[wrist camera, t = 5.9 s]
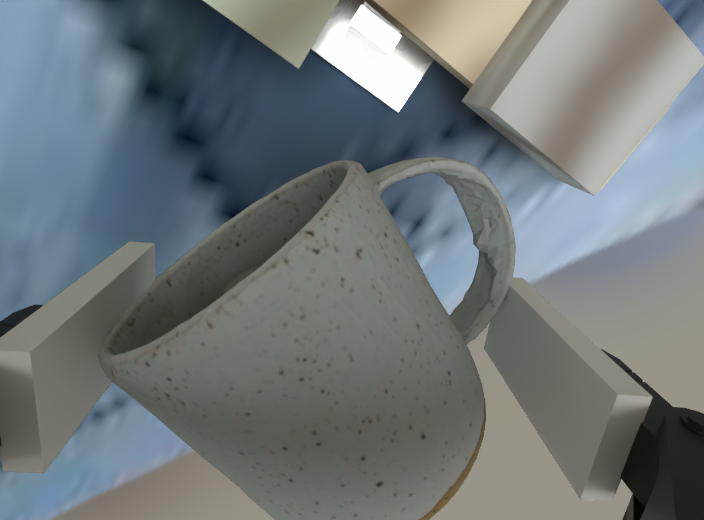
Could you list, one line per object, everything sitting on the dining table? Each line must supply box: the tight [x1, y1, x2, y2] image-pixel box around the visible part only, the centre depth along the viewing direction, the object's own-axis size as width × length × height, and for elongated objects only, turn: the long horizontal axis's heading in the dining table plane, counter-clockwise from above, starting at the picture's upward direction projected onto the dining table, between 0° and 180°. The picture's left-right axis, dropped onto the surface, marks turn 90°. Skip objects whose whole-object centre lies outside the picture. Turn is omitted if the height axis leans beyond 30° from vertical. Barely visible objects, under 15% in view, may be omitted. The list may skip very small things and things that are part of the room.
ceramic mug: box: [98, 157, 516, 520], centre depth 13 cm, size 11×8×8 cm
